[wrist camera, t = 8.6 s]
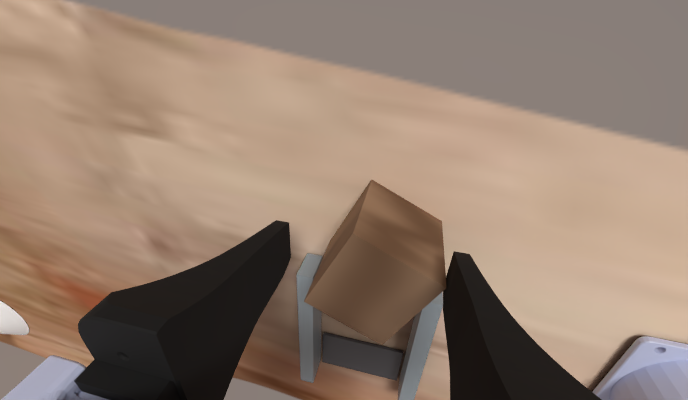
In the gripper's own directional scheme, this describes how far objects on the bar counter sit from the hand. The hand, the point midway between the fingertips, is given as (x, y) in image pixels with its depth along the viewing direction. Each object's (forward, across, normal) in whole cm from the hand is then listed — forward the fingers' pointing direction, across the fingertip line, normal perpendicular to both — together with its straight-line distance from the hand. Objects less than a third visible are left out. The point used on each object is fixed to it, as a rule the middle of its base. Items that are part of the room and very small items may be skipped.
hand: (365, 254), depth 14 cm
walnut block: (+4, 0, +2) cm, 5 cm away
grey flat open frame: (+4, 0, +10) cm, 11 cm away
